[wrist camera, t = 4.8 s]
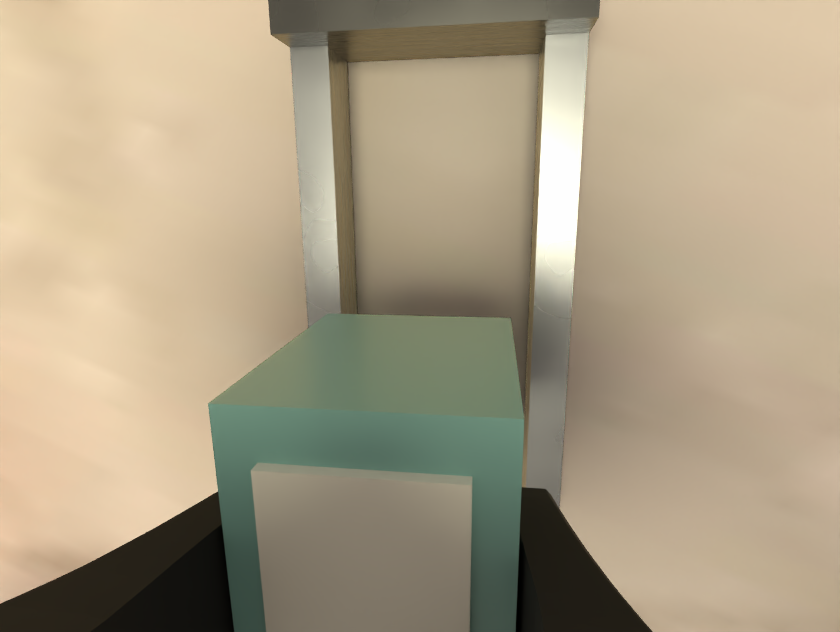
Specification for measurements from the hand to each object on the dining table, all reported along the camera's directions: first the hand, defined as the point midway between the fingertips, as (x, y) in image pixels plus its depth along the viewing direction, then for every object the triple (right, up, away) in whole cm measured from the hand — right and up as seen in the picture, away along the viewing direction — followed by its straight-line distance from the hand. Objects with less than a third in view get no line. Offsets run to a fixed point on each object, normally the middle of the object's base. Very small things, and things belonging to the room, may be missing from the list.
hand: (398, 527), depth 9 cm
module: (0, +1, +2) cm, 3 cm away
